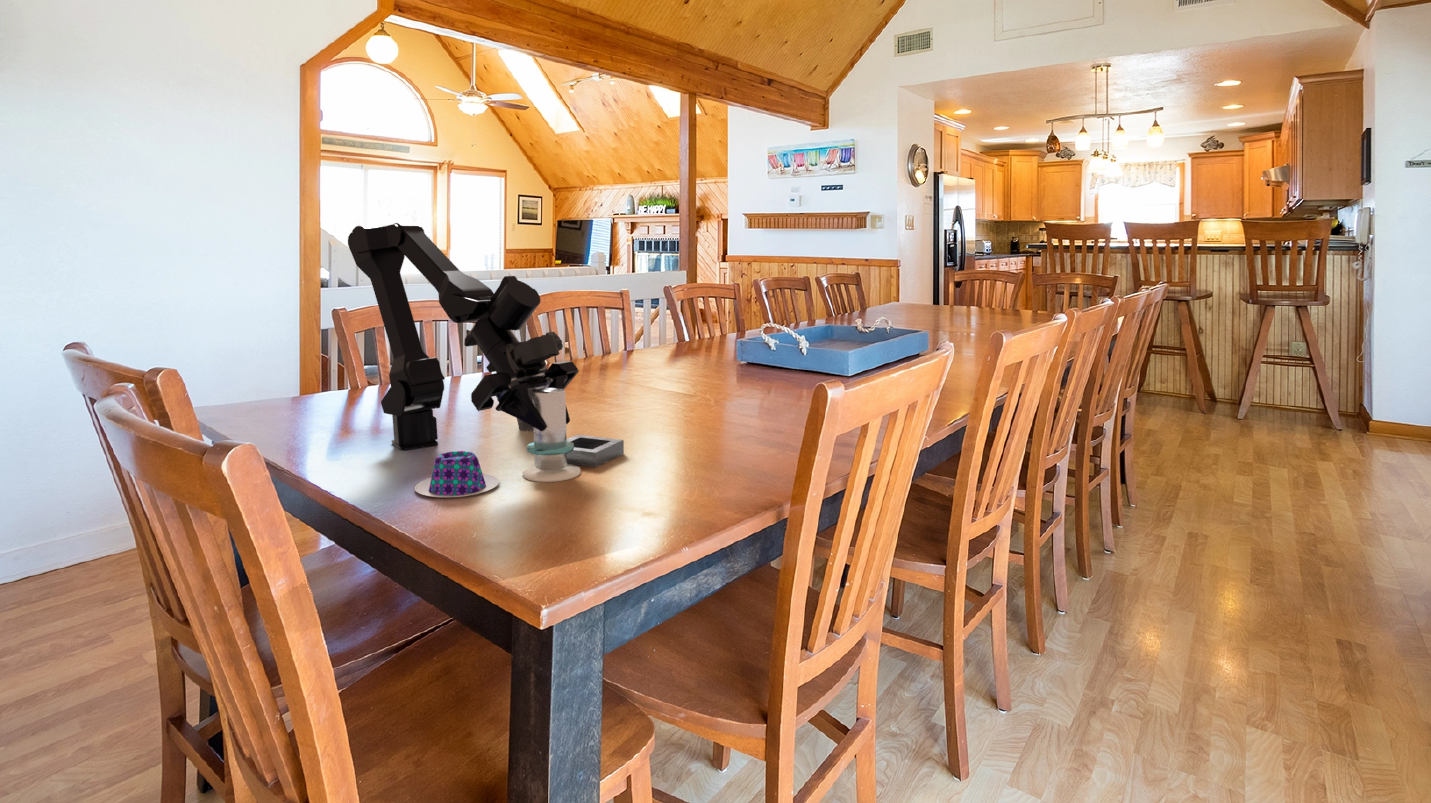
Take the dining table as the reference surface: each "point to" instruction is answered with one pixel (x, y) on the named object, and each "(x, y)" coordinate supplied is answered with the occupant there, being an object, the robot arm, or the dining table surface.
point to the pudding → (456, 476)
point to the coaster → (551, 474)
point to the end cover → (550, 430)
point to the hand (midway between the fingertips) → (556, 426)
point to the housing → (594, 450)
